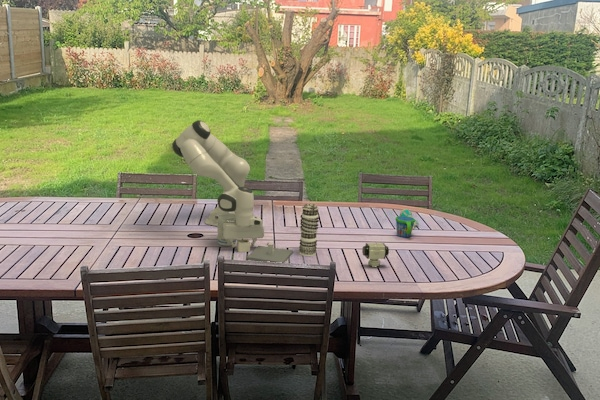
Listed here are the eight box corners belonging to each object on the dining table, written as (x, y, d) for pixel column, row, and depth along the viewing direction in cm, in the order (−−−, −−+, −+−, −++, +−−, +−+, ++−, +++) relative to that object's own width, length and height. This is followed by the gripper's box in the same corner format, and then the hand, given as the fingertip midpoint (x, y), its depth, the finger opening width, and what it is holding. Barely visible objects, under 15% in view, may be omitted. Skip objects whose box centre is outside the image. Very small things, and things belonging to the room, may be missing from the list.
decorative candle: (310, 258, 294) (314, 208, 287) (294, 253, 298) (297, 205, 292) (320, 253, 301) (323, 204, 295) (304, 249, 306) (307, 201, 300)
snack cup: (391, 231, 344) (393, 213, 342) (409, 231, 345) (411, 214, 342) (396, 239, 329) (398, 222, 327) (415, 240, 330) (417, 222, 327)
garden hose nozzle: (411, 225, 346) (430, 215, 360) (386, 215, 357) (405, 206, 370) (410, 236, 349) (428, 226, 362) (385, 226, 360) (404, 216, 373)
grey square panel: (246, 259, 287) (247, 247, 285) (258, 247, 304) (258, 236, 302) (282, 264, 283) (283, 252, 281) (292, 252, 300) (293, 240, 298)
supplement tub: (232, 239, 314) (233, 212, 310) (238, 245, 306) (239, 217, 302) (214, 241, 310) (215, 213, 306) (220, 247, 301) (221, 219, 298)
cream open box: (238, 252, 296) (238, 242, 295) (236, 247, 302) (236, 238, 301) (249, 251, 298) (250, 242, 296) (247, 247, 303) (247, 238, 302)
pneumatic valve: (360, 264, 289) (363, 240, 286) (384, 264, 291) (386, 240, 288) (363, 268, 284) (366, 244, 281) (387, 268, 286) (390, 244, 283)
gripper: (223, 222, 290) (223, 249, 293) (265, 221, 295) (264, 248, 299) (221, 218, 296) (221, 245, 299) (262, 217, 301) (261, 244, 305)
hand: (243, 246), depth 299 cm, fingers open, 8 cm apart
